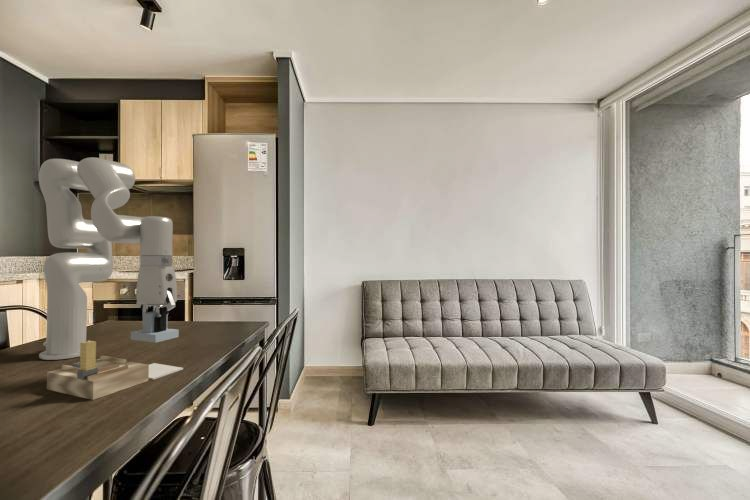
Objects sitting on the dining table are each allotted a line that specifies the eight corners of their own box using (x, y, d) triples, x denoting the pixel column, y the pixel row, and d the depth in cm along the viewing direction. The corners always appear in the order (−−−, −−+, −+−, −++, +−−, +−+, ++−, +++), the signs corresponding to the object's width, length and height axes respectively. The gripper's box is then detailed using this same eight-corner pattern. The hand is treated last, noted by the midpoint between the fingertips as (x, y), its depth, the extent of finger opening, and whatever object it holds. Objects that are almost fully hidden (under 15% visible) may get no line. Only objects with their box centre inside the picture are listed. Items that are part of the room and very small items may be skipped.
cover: (130, 339, 97) (130, 313, 97) (154, 334, 104) (155, 309, 104) (155, 342, 94) (155, 315, 94) (178, 336, 100) (179, 311, 100)
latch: (68, 376, 82) (69, 341, 82) (83, 372, 84) (84, 338, 85) (83, 379, 80) (84, 344, 80) (97, 375, 83) (98, 341, 83)
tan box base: (46, 389, 85) (47, 367, 85) (104, 372, 97) (105, 353, 97) (93, 399, 80) (93, 376, 80) (148, 380, 92) (148, 360, 92)
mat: (123, 374, 96) (123, 372, 96) (154, 364, 105) (154, 363, 105) (153, 379, 93) (153, 378, 93) (183, 369, 101) (183, 367, 101)
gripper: (190, 262, 100) (189, 330, 99) (147, 261, 105) (146, 325, 105) (166, 263, 93) (165, 336, 92) (121, 262, 98) (120, 330, 98)
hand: (155, 330), depth 99 cm, fingers closed on cover, 3 cm apart
